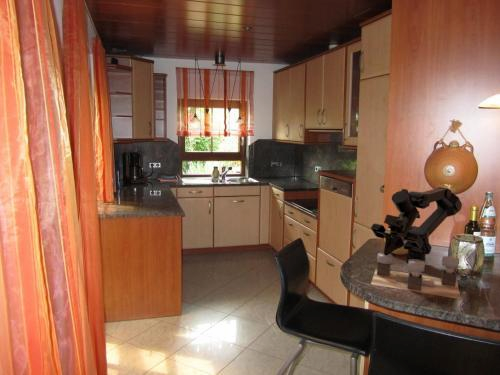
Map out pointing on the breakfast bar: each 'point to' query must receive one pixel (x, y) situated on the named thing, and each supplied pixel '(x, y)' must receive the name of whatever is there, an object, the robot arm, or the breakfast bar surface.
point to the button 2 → (450, 264)
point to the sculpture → (400, 250)
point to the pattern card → (424, 281)
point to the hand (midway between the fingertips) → (385, 254)
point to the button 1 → (384, 258)
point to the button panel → (417, 282)
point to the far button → (416, 267)
